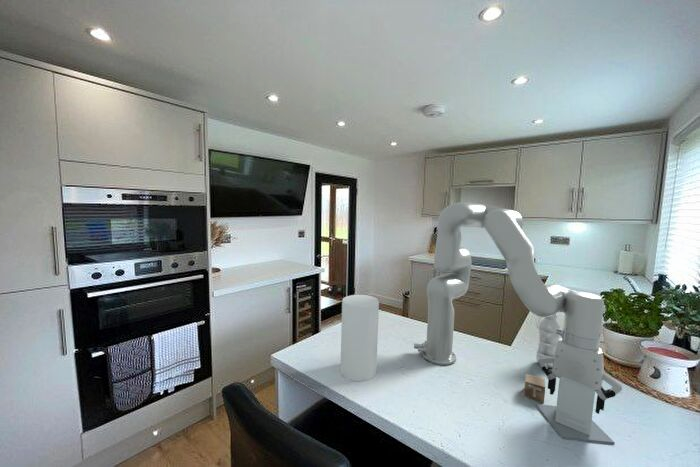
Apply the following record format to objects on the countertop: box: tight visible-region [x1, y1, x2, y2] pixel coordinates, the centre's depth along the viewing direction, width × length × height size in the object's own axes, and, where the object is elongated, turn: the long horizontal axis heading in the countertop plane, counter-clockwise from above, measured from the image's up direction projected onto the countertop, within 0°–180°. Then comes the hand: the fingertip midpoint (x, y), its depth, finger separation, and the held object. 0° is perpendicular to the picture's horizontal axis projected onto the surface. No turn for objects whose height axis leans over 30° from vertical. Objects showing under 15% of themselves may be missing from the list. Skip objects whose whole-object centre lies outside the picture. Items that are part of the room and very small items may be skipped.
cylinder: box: [339, 294, 380, 382], centre depth 97 cm, size 12×12×25 cm
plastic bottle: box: [535, 313, 561, 369], centre depth 104 cm, size 6×7×20 cm
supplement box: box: [555, 377, 596, 435], centre depth 75 cm, size 7×7×13 cm
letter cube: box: [523, 373, 546, 403], centre depth 87 cm, size 5×5×5 cm
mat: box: [535, 403, 615, 445], centre depth 76 cm, size 12×12×1 cm
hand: (574, 401), depth 75 cm, fingers open, 9 cm apart
